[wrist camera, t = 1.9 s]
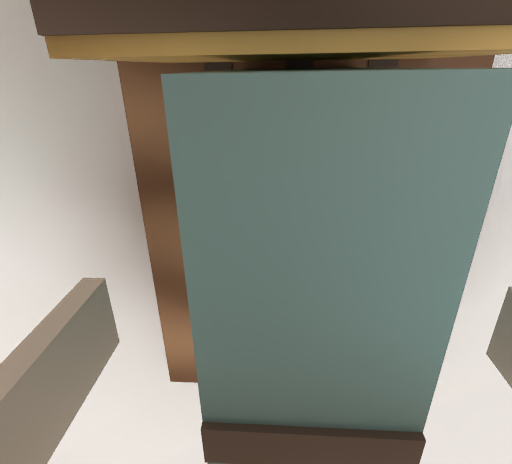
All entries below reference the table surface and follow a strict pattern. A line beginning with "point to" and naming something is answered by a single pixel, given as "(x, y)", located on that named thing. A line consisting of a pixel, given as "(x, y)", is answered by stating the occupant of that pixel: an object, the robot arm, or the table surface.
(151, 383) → the table surface
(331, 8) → the board
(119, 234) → the table surface
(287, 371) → the stub
